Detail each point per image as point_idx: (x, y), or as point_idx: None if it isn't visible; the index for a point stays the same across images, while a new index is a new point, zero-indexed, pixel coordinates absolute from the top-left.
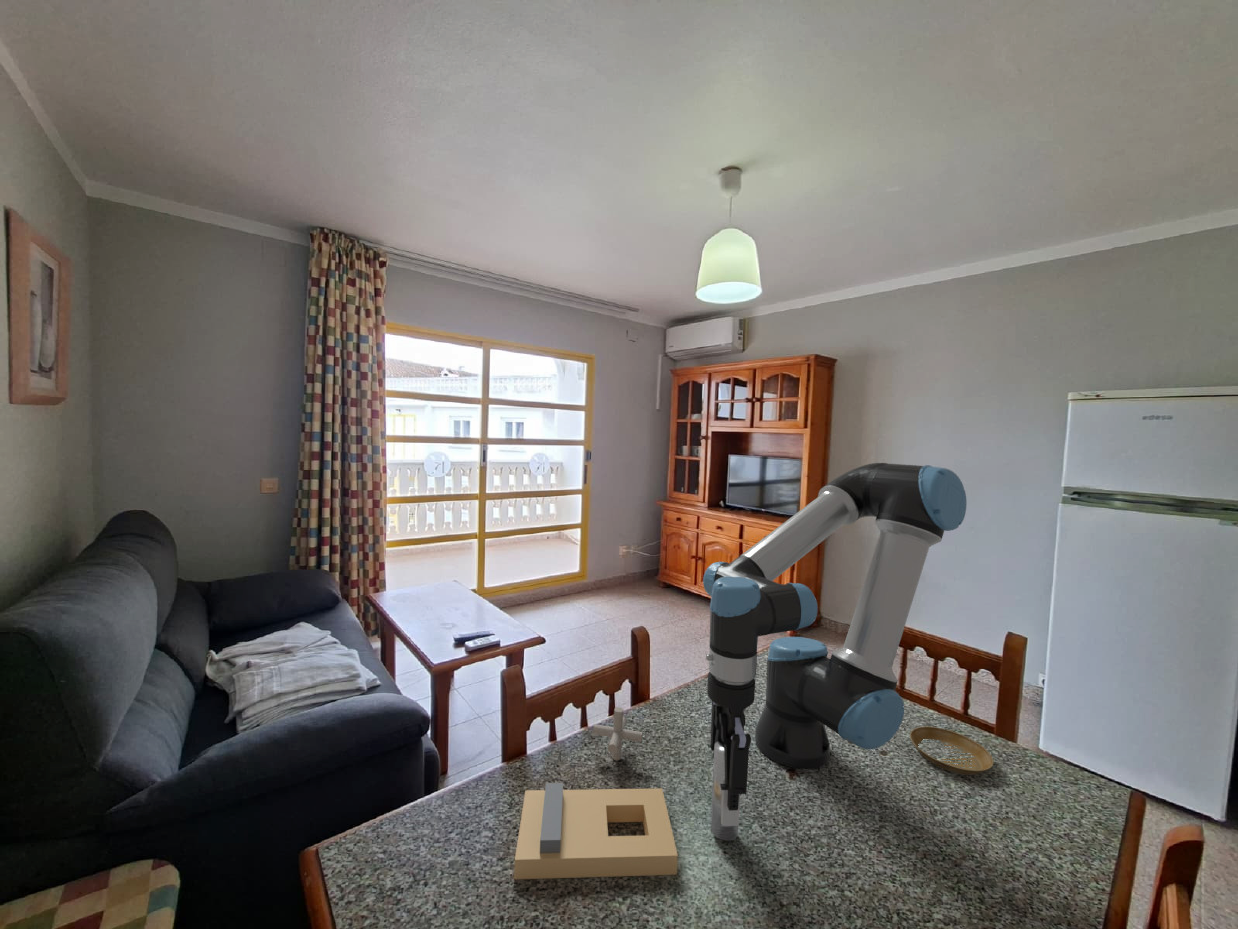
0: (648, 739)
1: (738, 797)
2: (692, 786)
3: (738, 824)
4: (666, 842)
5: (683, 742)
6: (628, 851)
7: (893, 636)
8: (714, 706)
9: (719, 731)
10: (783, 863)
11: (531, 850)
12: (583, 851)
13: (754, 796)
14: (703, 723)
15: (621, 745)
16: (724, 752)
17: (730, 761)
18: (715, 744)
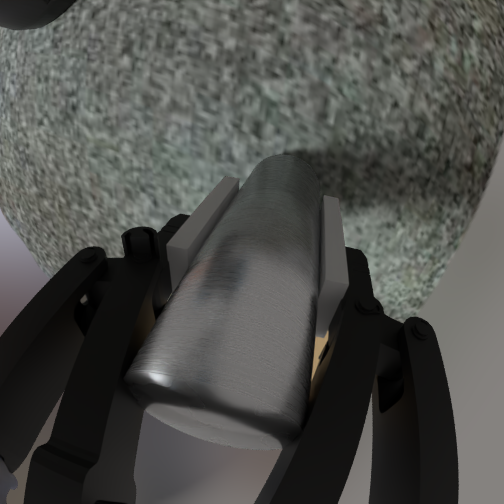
0: (49, 230)
1: (372, 290)
2: (136, 193)
3: (337, 200)
4: (316, 339)
5: (41, 171)
6: (312, 378)
7: None
8: (14, 467)
9: (132, 468)
10: (396, 89)
11: None
12: None
13: (170, 51)
14: (6, 122)
15: (83, 301)
16: (274, 467)
17: (374, 489)
18: (177, 428)
